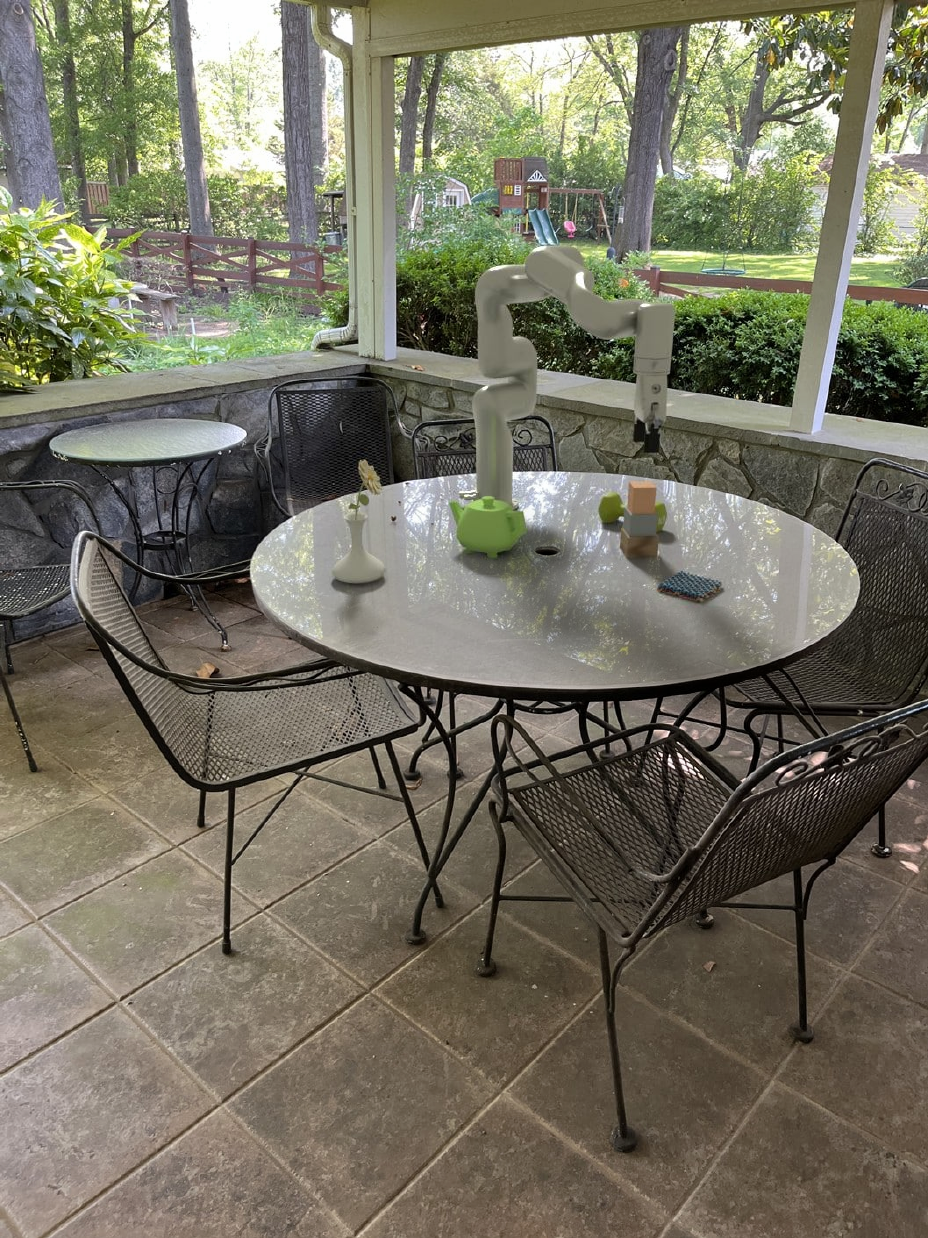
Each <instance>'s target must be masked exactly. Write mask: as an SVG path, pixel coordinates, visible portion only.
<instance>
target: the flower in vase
mask: <svg viewBox="0 0 928 1238" xmlns="http://www.w3.org/2000/svg"><path fill="white" fill-rule="evenodd" d="M358 473H359V475H360V479H361V480H362V484H361V486H360V488H359V491H358V494H357V501H356V503H355V504H354V503H352V502H351V503H350V504H349V506H348V508H347V509H349V510H355V512H353V513H347V514H345V515H343V517H342V518H343V520H344V521H345V522H346V524H347V525H348V528H349V533H350V537H351V548H350V550H349V552H348V553H346V555H345V556H343V557H342V558H341V559H340V560H339V561H337V563H335V565H334V566H333V569H332V571H331V573H332V576H333V577H334V578H335V579H336V580H338V581H340V582H343V583H346V584H355V585H356V584H366V583H371V582H374V581H376V580H379V579H380V578H382V577H383V576H384V575H385V573H386V571H387V570H386V569H387V568H386V566H385V564H384V563H383V562H381V560H380V559H378V558H377V557H375V556H373V555H372V554H370V553H369V551H367V550H365V547H364V543H363V529H364V523H365V522H366V520H367V519H368V514H365V513H363V512H358V509H359V508H361V505H362V506H364V507H366V506H368V505H369V503H370V498H369V497H368V495H367V494H364V493H361V492H362V490H363V487H364V486H365V488H366V489H367V490H368V492H370V494H371V495H372V494H373V495H375V496H376V495H381V492H380V491H381V490H382V491H383V487H382V484H381V483H380V480H381V477H380V476H379V475H377V472H376V471H375V469H374V465H369V464H368V461H367V460H366V459H363V460H361V459H360V460H359V462H358ZM359 502H360V504H361V505H359Z"/></svg>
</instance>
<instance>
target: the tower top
mask: <svg viewBox="0 0 928 1238" xmlns="http://www.w3.org/2000/svg"><path fill="white" fill-rule="evenodd" d="M657 516H658V514H657V513H656V512H654V514H631V512H630V511H629V509H628V508H627V507H624V517H623V521H622V522H623V523H622V528H623V529H624V530H625V531H626V533H627V534H628V536H629V537H636V536H656V534H657V533H656V528H657Z"/></svg>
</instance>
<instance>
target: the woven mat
mask: <svg viewBox="0 0 928 1238" xmlns="http://www.w3.org/2000/svg"><path fill="white" fill-rule="evenodd" d="M722 586H723V583H722V582H721V581H719V580H718V579H716V580H715V579H712V578H706V577H704V576H703V575H702V576H699V575H698V574H692V573H691V574H690V572H687V573H686V572H684V571H683V570H680V571H679V572H676V573H675V574H674V575H671V577H669V578H667V579H665V580H663V582H660V583H659V585H658V586H657V587H656V589H657V591H659V592H661V593H667V594H670V595H674V596H676V597H680V598H684V599H688V600H692V601H695V602H698V603H702V602H704V601H705V599H708V598H710V595H708V594H712V595H713V594H716V593H717V592H716V591H720V590H722V589H723V587H722ZM712 595H711V596H712ZM713 596H714V595H713Z"/></svg>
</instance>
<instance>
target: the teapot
mask: <svg viewBox="0 0 928 1238" xmlns="http://www.w3.org/2000/svg"><path fill="white" fill-rule="evenodd" d="M494 499H495V498H494V497H492V496H485V497H482V499H479V500H476V501H473V502H471V501H470V502H469V503H467V504H466V506H465V507H464V508H463V507H462V506H461V505H460V504H459V502H458V500H457V501H456V500H451V501H449V502H448V505H449V507H450V510H451V513H452V516H453V518H454V521H455V524H456V526H457V527H456V531H455V532H456V539H457V541H458V543H459V544H460V545H461V546H462V547H463V548H465V550H464V551H463V552H464V553H465V554H473V553H476V552H480V553H486V558H488V559H498V553H503V552H506V551H511V550H512V548H513V547H514V546H515V545H516V544H517V542H518V541H519V539H520V537H522V536H524V535H525V534H527V533H528V528H527V524H526V519H525V514H524V511H523V510H513V509H512V507H511V505H510V504H508V503H506V502H503V501H499V500H494Z"/></svg>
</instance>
